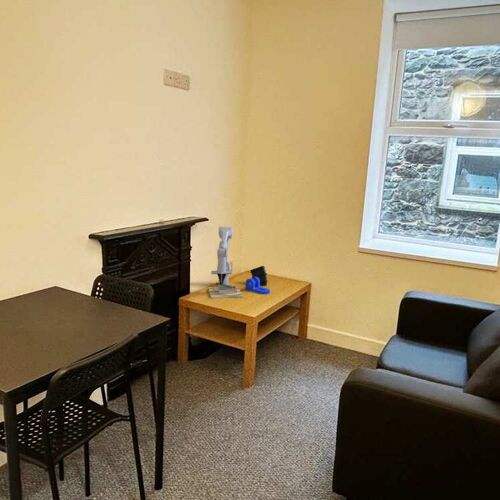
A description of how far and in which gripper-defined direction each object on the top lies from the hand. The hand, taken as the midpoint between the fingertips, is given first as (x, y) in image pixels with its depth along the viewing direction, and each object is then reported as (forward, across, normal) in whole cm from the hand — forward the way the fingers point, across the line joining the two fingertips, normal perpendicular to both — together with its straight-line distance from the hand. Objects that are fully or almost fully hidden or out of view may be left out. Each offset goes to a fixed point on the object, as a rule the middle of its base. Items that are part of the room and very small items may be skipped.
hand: (221, 284), depth 312 cm
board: (+7, +3, 0) cm, 8 cm away
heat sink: (+6, +3, 0) cm, 7 cm away
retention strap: (+2, +3, 0) cm, 4 cm away
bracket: (+7, +28, +4) cm, 29 cm away
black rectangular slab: (+7, +31, +20) cm, 38 cm away
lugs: (+6, +2, 0) cm, 6 cm away
